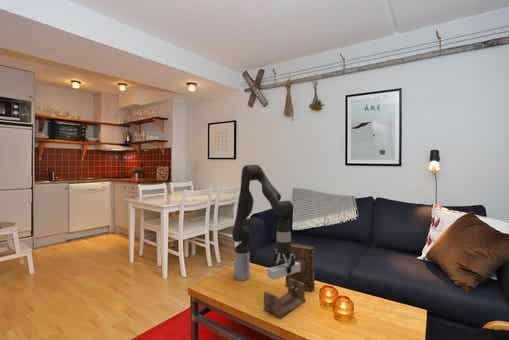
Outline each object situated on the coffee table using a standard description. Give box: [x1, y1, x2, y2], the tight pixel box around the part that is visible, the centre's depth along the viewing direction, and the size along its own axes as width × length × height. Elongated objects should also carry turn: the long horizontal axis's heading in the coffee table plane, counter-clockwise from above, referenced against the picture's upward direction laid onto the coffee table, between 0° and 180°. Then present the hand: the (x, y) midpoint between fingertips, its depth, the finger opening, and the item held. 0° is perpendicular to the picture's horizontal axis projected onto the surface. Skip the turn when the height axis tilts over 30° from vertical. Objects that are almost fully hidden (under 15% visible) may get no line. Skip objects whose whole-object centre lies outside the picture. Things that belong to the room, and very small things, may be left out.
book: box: [285, 242, 316, 293], centre depth 158 cm, size 16×6×25 cm, turn 62°
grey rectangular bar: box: [266, 262, 300, 281], centre depth 139 cm, size 5×18×4 cm, turn 124°
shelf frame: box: [263, 278, 306, 320], centre depth 139 cm, size 11×22×10 cm, turn 137°
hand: (284, 271), depth 139 cm, fingers closed on grey rectangular bar, 5 cm apart
